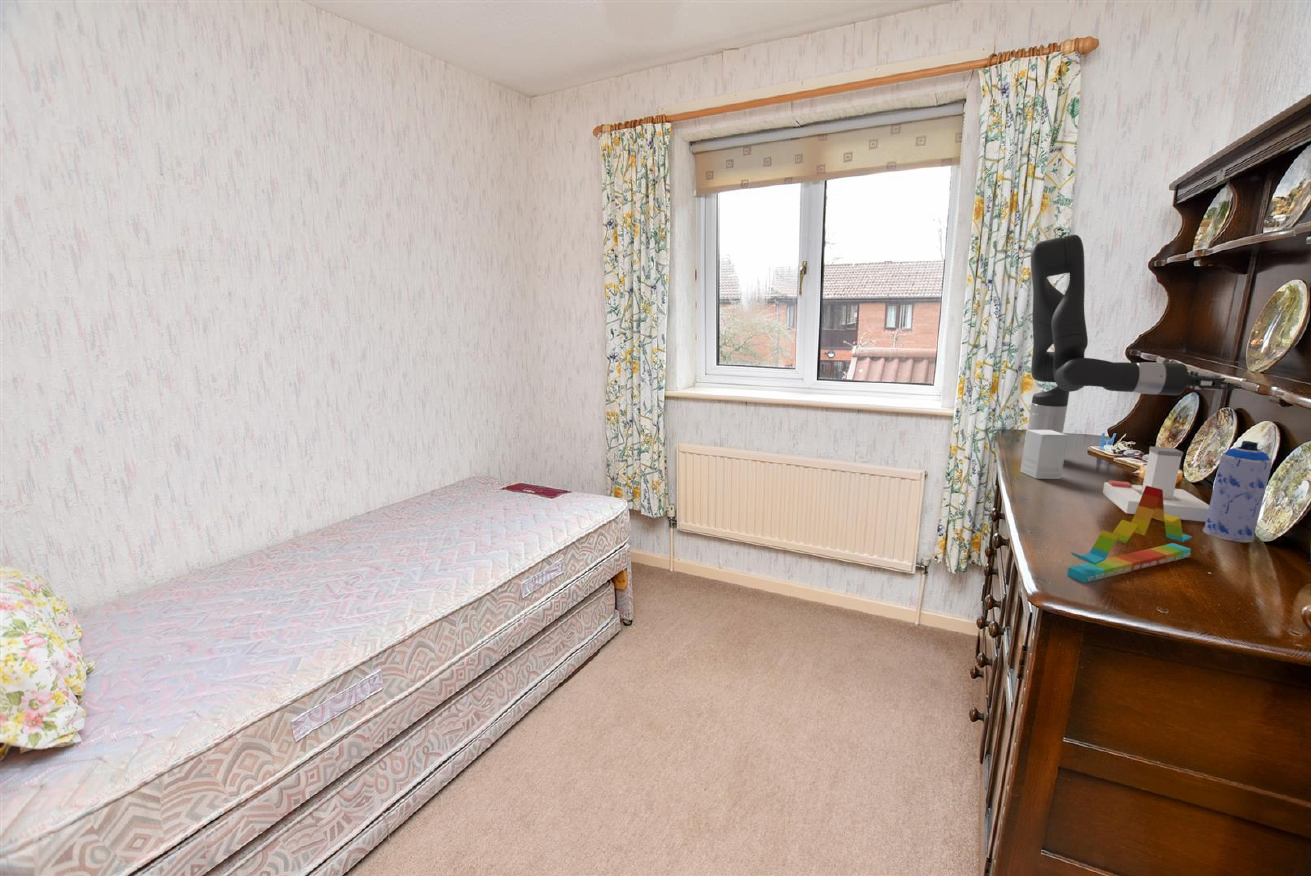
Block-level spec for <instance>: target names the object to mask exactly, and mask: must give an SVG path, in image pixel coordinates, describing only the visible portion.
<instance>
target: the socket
mask: <svg viewBox="0 0 1311 876" xmlns="http://www.w3.org/2000/svg"><path fill="white" fill-rule="evenodd" d="M1142 486H1143V485H1139V484H1131V483H1130V482H1129V481H1119V480H1108V482H1107V481H1104V483H1103V490H1102V494H1103V495H1104V496H1105V497H1106V498H1108V499H1109V500H1110V501H1111V502H1112V503H1113V504H1114V505H1116V506H1117V507H1118V508H1119V509H1120V510H1122V511H1123V512H1124V513H1126V514H1127V515H1128V514H1130V515H1135V512H1136V510H1137V507H1138V505H1139V502H1140V500H1141V497H1142V495H1141V491H1142ZM1163 504H1164V513H1165V514H1168V515H1172V516H1175V517H1179V518H1180V519H1181V520H1184V521H1193V522H1194V521H1195V522H1203V523H1206V519H1207V514H1208V510H1209V506H1210V504H1208V503H1206V502H1205V501H1203V500H1201V499H1200V498H1197V496H1195V495H1193V494H1191V493H1190V492H1189V491H1188V492H1187V491H1186V490H1185V489H1183V488H1182V489H1181V488H1175V489H1174V494H1173V499H1172V500H1164V499H1163Z"/></svg>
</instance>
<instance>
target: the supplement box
mask: <svg viewBox="0 0 1311 876" xmlns="http://www.w3.org/2000/svg"><path fill="white" fill-rule="evenodd" d="M1068 437H1069V434H1065V433H1064V432H1063V433H1059V432H1056V431H1053V430H1028V429H1026V432H1025V438H1024V445H1023V451H1022V457H1021V464H1020V471H1019V472H1020V473H1022V474H1024V475H1027V476H1029V477H1031V478H1034V479H1035V480H1036V479H1037V480H1038V479H1040V480H1043V479H1044V480H1061V479H1062V474H1063V469H1064V461H1065V457H1066V449H1067V443H1068Z"/></svg>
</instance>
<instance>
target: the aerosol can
mask: <svg viewBox="0 0 1311 876" xmlns="http://www.w3.org/2000/svg"><path fill="white" fill-rule="evenodd" d="M1258 444H1259V443H1258V442H1254V441H1250V440H1242V442H1241V445H1240V446H1236V447H1234V448H1230V449H1228V450H1226V452H1225V451H1224V452H1222V453H1221V456H1220V457H1219V458H1220V459H1219V463H1218V466H1217V467H1218V468H1217V472H1216V477H1215V479H1214V484H1213V488H1212V492H1211V497H1210V503H1209V505H1210V506H1209V510H1208V514H1207V519H1206V522H1204V523H1205V524H1204V527H1203V528H1202V532H1203V533H1205V534H1206V535H1208V536H1211V537H1213V538H1218V539H1221V540H1225V541H1230V542H1235V543H1236V542H1237V543H1253V542H1255V537H1254V536H1255V533H1256V529H1257V524H1258V522H1259V518H1260V513H1261V511H1262V510H1261V509H1262V506H1263V502H1264V497H1265V493H1266V489H1267V486H1268V481H1269V477H1270V473H1271V470H1272V464H1273V463H1272V461H1273V460H1272V459H1271V458H1270V456H1269V455H1268V454H1267V453H1266V452H1264V451H1262V450H1261V449H1259V448H1258V446H1259V445H1258Z"/></svg>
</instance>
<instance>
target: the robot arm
mask: <svg viewBox="0 0 1311 876" xmlns="http://www.w3.org/2000/svg"><path fill="white" fill-rule="evenodd" d="M1030 269H1031V271H1030V272H1031V282H1032V283H1031V284H1032V315H1031V316H1032V318H1031V319H1032V321H1031V322H1032V324H1031V325H1032V336H1033V338H1032V339H1033V343H1032V344H1033V345H1032V346H1033V347H1032V356H1031V357H1032V358H1031V367H1030V369H1031V370H1030V371H1031V376H1032V379H1033V380H1034V381H1037V382H1042V383H1043V382H1045V383H1055V384H1056V385H1057V386H1056V387H1054V388H1052V389H1050V390H1047V391H1040V392H1038V393H1037V392H1036V393H1034V394H1033V395H1032V400H1031V405H1030V410H1029V411H1030V412H1029V417H1028V418H1029V419H1028V425H1027V430H1053V431H1056V432H1059V433H1063V434H1064V430H1065V429H1064V428H1065V422H1066V417H1067V416H1066V415H1067V409H1068V405H1069V404H1068V403H1069V396H1070V393H1071V392H1077V391H1079V390H1081V389H1083V388H1085V387H1099V388H1100V387H1101V388H1103V389H1104V390H1106V391H1112V392H1120V393H1121V392H1125V393H1137V394H1144V395H1145V394H1146V395H1163V396H1165V395H1166V396H1179V395H1181V394H1182V393H1183V392H1184V391H1185V389H1186V388H1188V389H1192V390H1210V391H1211V390H1212V391H1216V390H1217V391H1219V390H1221V391H1223V390H1226V391H1234V389H1237V390H1239V389H1241V390H1244V389H1243V388H1242V387H1238V386H1235V385H1232V384H1230V383H1221V382H1222V381H1224V380H1225V378H1220V377H1221V375H1222V374H1216V373H1212V374H1209V372H1208V371H1207V372H1206V371H1198V370H1190V371H1189V370H1188V369H1189V368H1188V367H1187V365H1186V364H1185V363H1179V362H1157V361H1156V362H1155V361H1154V362H1153V361H1151V362H1148V361H1147V362H1145V361H1144V362H1143V361H1142V362H1125V361H1124V362H1123V361H1122V362H1119V361H1118V362H1115V361H1109V360H1104V359H1098V358H1093V357H1092V358H1091V357H1085V352H1086V350H1087V347H1088V343H1089V339H1088V332H1087V324H1086V316H1085V315H1086V314H1085V294H1086V293H1085V287H1086V286H1085V284H1086V283H1085V269H1086V268H1085V251H1084V243H1083V241H1082V239H1081V237H1080V236H1079V235H1078V234H1071V235H1070V234H1069V235H1065V236H1060V237H1057V238H1056V237H1055V238H1051V239H1046V240H1042V241H1039V242H1036V243H1034V244H1033V246H1032V248H1031V251H1030ZM1064 274H1069V281H1068V286H1067V288H1066V291H1065V293H1062V292H1061V291H1060V290H1059V289H1057V288H1056V287H1055V286H1054V285H1052V283H1051V282H1050V281H1049V277H1053V276H1058V275H1064ZM1051 346H1053V347H1054V351H1048V350H1049V349H1050V347H1051ZM1214 377H1215V378H1214Z"/></svg>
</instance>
